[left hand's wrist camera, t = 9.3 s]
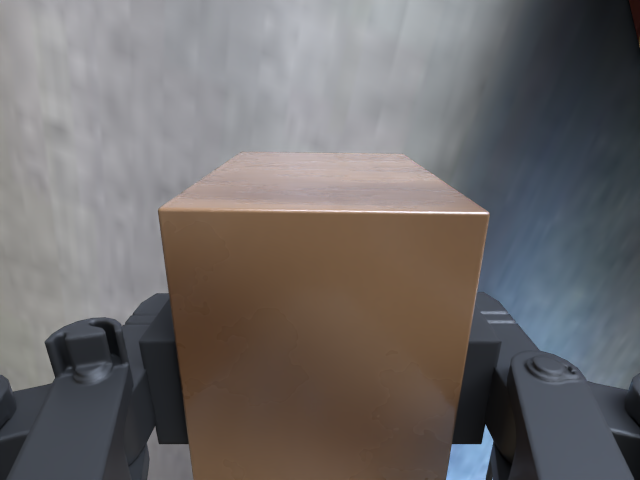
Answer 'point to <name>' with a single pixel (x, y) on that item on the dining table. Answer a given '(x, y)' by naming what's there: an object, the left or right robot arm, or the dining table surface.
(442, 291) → the beam
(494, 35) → the dining table surface
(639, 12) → the box
